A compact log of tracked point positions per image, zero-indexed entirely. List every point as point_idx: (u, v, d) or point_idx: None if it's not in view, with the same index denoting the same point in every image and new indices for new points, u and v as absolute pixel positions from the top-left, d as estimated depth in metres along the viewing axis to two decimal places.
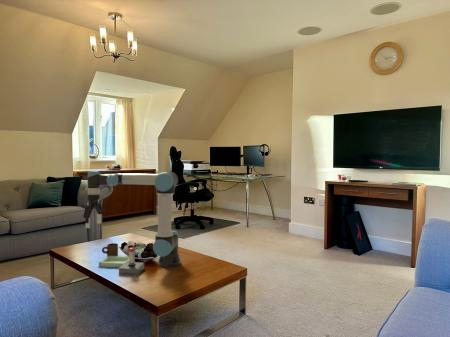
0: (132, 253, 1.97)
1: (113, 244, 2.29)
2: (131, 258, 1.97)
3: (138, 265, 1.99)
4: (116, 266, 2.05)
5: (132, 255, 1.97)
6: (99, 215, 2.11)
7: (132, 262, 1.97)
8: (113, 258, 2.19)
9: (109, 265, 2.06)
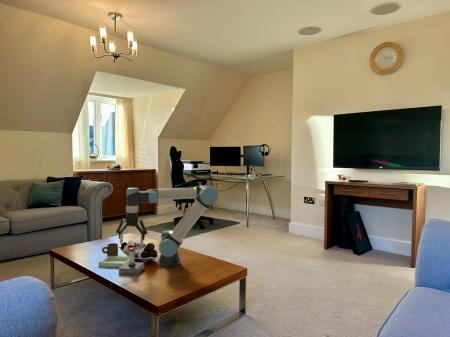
0: (132, 253, 1.97)
1: (113, 244, 2.29)
2: (131, 258, 1.97)
3: (138, 265, 1.99)
4: (116, 266, 2.05)
5: (132, 255, 1.97)
6: None
7: (132, 262, 1.97)
8: (113, 258, 2.19)
9: (109, 265, 2.06)
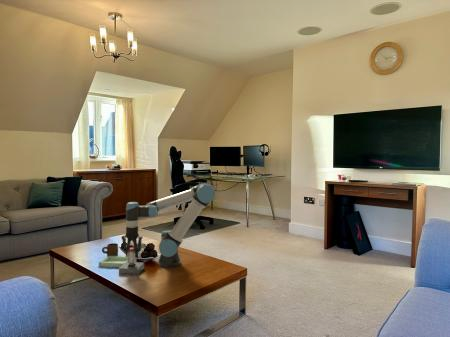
0: (132, 253, 1.97)
1: (113, 244, 2.29)
2: (131, 258, 1.97)
3: (138, 265, 1.99)
4: (116, 266, 2.05)
5: (132, 255, 1.97)
6: None
7: (132, 262, 1.97)
8: (113, 258, 2.19)
9: (109, 265, 2.06)
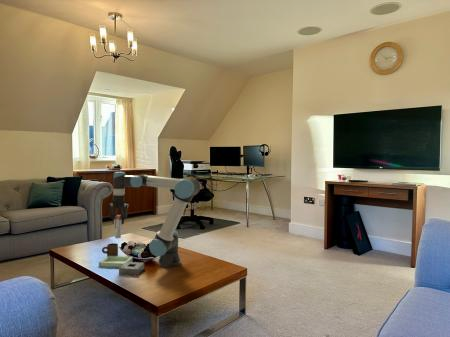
0: (118, 220, 2.07)
1: (113, 244, 2.29)
2: (117, 225, 2.07)
3: (138, 265, 1.99)
4: (116, 266, 2.05)
5: (118, 222, 2.07)
6: None
7: (118, 228, 2.08)
8: (113, 258, 2.19)
9: (109, 265, 2.06)
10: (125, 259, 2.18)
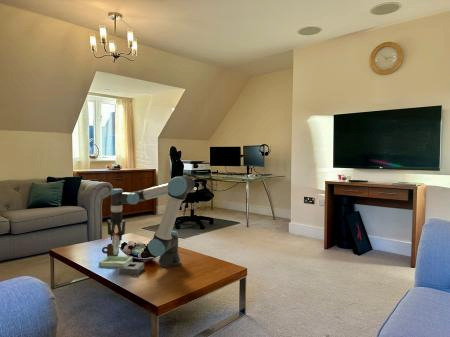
0: (116, 236, 2.10)
1: None
2: (115, 241, 2.10)
3: (138, 265, 1.99)
4: (116, 266, 2.05)
5: (116, 238, 2.10)
6: None
7: (116, 245, 2.10)
8: (113, 258, 2.19)
9: (109, 265, 2.06)
10: (125, 259, 2.18)
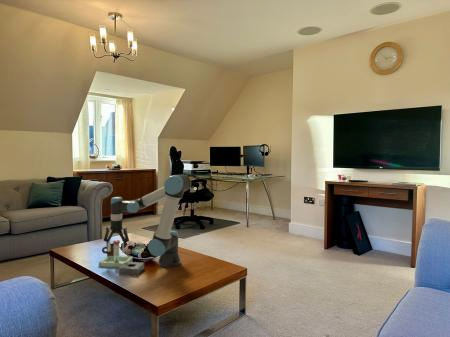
0: (116, 246, 2.10)
1: (113, 244, 2.29)
2: (115, 250, 2.10)
3: (138, 265, 1.99)
4: (116, 266, 2.05)
5: (116, 247, 2.10)
6: None
7: (116, 254, 2.11)
8: (113, 258, 2.19)
9: (109, 265, 2.06)
10: (125, 259, 2.18)
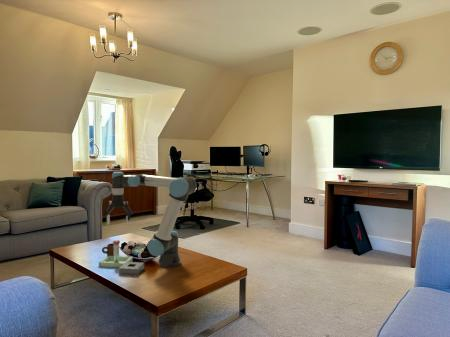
0: (116, 246, 2.10)
1: (113, 244, 2.29)
2: (115, 250, 2.10)
3: (138, 265, 1.99)
4: (116, 266, 2.05)
5: (116, 247, 2.10)
6: None
7: (116, 254, 2.11)
8: (113, 258, 2.19)
9: (109, 265, 2.06)
10: (125, 259, 2.18)
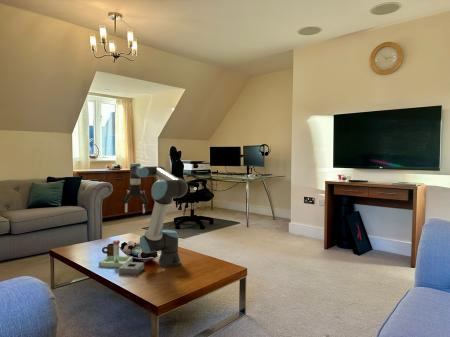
0: (116, 246, 2.10)
1: (113, 244, 2.29)
2: (115, 250, 2.10)
3: (138, 265, 1.99)
4: (116, 266, 2.05)
5: (116, 247, 2.10)
6: None
7: (116, 254, 2.11)
8: (113, 258, 2.19)
9: (109, 265, 2.06)
10: (125, 259, 2.18)
